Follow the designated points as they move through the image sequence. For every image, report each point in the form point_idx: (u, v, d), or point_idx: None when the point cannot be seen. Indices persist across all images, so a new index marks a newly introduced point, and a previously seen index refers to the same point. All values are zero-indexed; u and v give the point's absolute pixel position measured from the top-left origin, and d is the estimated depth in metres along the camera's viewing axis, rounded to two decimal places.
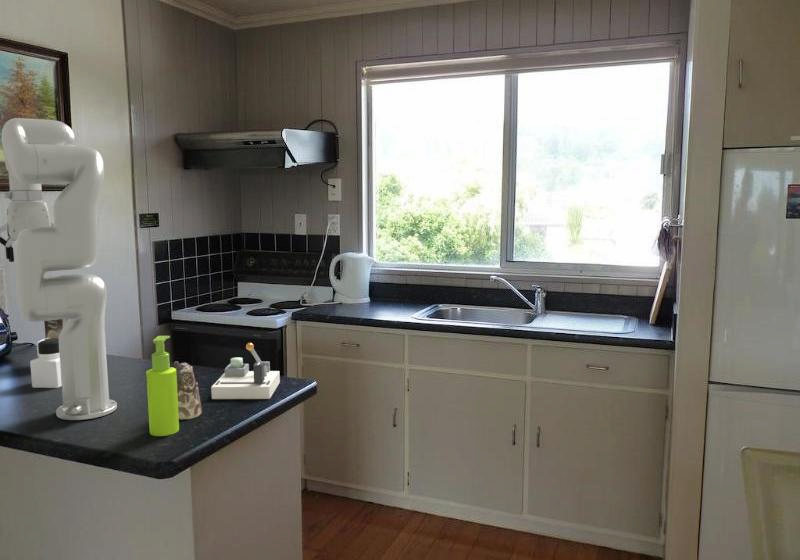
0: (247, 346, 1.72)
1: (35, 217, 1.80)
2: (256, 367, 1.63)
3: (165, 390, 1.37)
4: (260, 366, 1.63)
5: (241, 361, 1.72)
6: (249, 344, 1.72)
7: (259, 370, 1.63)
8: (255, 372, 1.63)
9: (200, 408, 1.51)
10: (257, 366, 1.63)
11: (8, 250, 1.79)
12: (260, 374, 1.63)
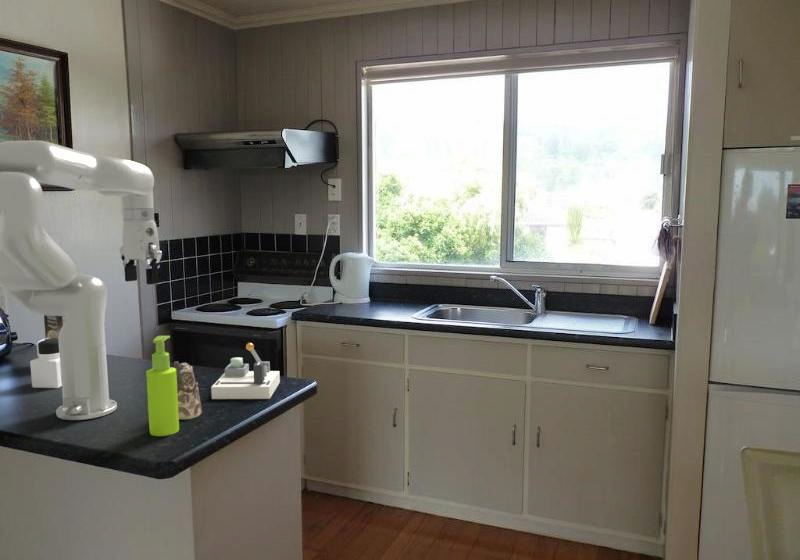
0: (247, 346, 1.72)
1: None
2: (256, 367, 1.63)
3: (165, 390, 1.37)
4: (260, 366, 1.63)
5: (241, 361, 1.72)
6: (249, 344, 1.72)
7: (259, 370, 1.63)
8: (255, 372, 1.63)
9: (200, 408, 1.51)
10: (257, 366, 1.63)
11: None
12: (260, 374, 1.63)
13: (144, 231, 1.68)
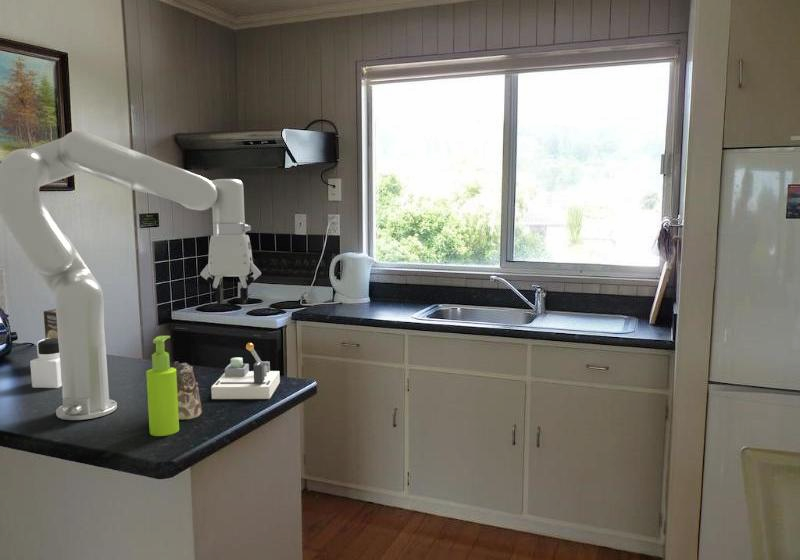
0: (247, 346, 1.72)
1: None
2: (256, 367, 1.63)
3: (165, 390, 1.37)
4: (260, 366, 1.63)
5: (241, 361, 1.72)
6: (249, 344, 1.72)
7: (259, 370, 1.63)
8: (255, 372, 1.63)
9: (200, 408, 1.51)
10: (257, 366, 1.63)
11: None
12: (260, 374, 1.63)
13: (247, 245, 1.63)
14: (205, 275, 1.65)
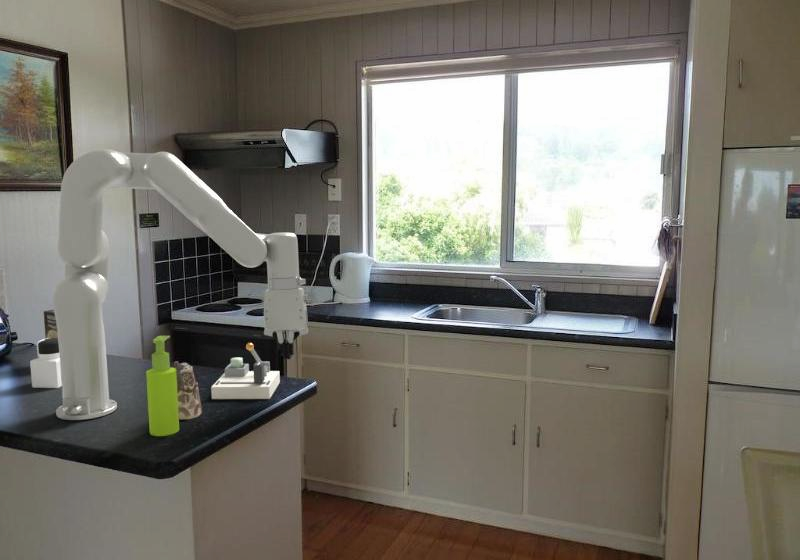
0: (247, 346, 1.72)
1: None
2: (256, 367, 1.63)
3: (165, 390, 1.37)
4: (260, 366, 1.63)
5: (241, 361, 1.72)
6: (249, 344, 1.72)
7: (259, 370, 1.63)
8: (255, 372, 1.63)
9: (200, 408, 1.51)
10: (257, 366, 1.63)
11: None
12: (260, 374, 1.63)
13: (302, 299, 1.61)
14: (269, 332, 1.63)
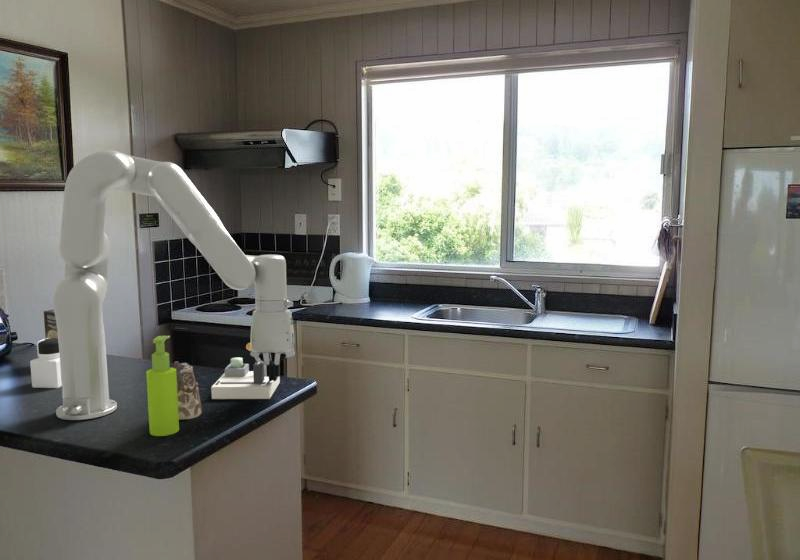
0: (247, 346, 1.72)
1: None
2: (256, 367, 1.63)
3: (165, 390, 1.37)
4: (260, 366, 1.63)
5: (241, 361, 1.72)
6: (249, 344, 1.72)
7: (259, 370, 1.63)
8: (255, 372, 1.63)
9: (200, 408, 1.51)
10: (257, 366, 1.63)
11: None
12: (260, 374, 1.63)
13: (289, 322, 1.61)
14: (255, 354, 1.63)
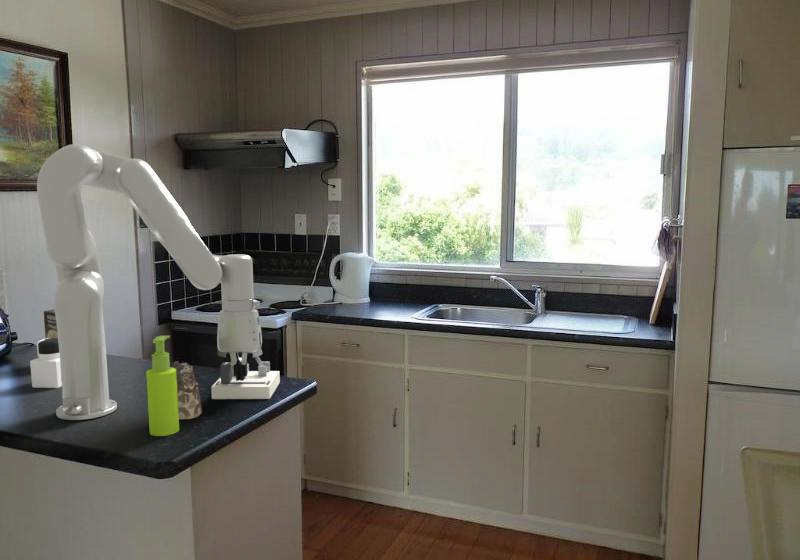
0: None
1: None
2: (223, 367, 1.63)
3: (165, 390, 1.37)
4: (227, 366, 1.63)
5: None
6: None
7: (226, 370, 1.63)
8: (222, 372, 1.63)
9: (200, 408, 1.51)
10: (224, 366, 1.63)
11: None
12: (227, 374, 1.63)
13: (256, 321, 1.61)
14: (222, 353, 1.63)
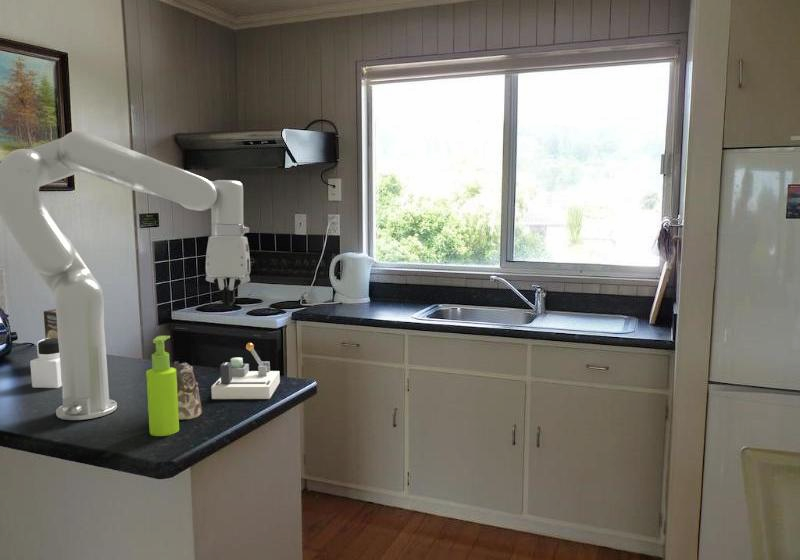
0: (247, 346, 1.72)
1: None
2: (223, 367, 1.63)
3: (165, 390, 1.37)
4: (227, 366, 1.63)
5: (241, 361, 1.72)
6: (249, 344, 1.72)
7: (226, 370, 1.63)
8: (222, 372, 1.63)
9: (200, 408, 1.51)
10: (224, 366, 1.63)
11: None
12: (227, 374, 1.63)
13: (244, 247, 1.63)
14: (211, 279, 1.65)
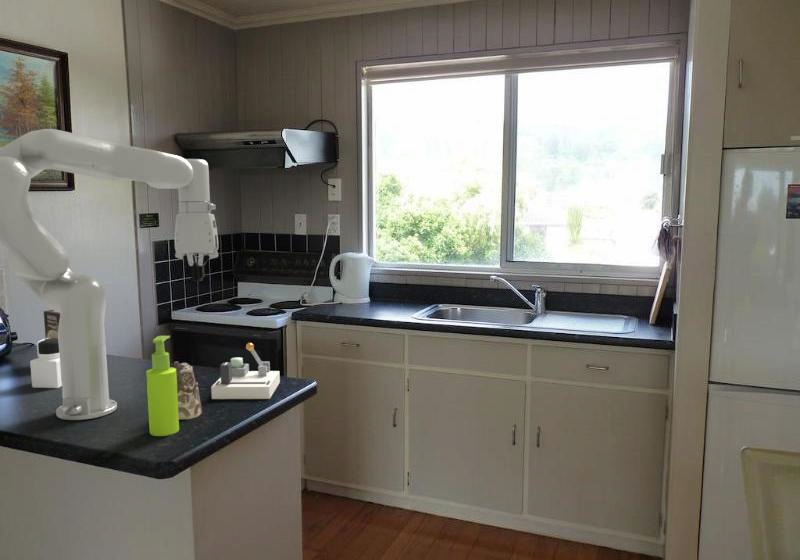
0: (247, 346, 1.72)
1: None
2: (223, 367, 1.63)
3: (165, 390, 1.37)
4: (227, 366, 1.63)
5: (241, 361, 1.72)
6: (249, 344, 1.72)
7: (226, 370, 1.63)
8: (222, 372, 1.63)
9: (200, 408, 1.51)
10: (224, 366, 1.63)
11: None
12: (227, 374, 1.63)
13: (211, 223, 1.68)
14: (180, 255, 1.70)
